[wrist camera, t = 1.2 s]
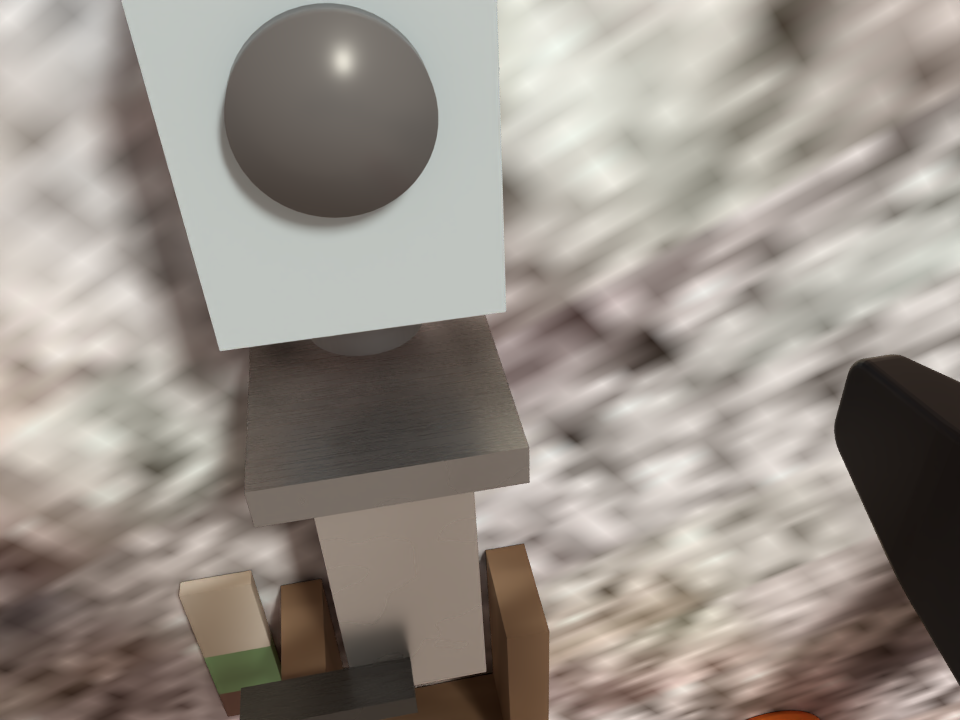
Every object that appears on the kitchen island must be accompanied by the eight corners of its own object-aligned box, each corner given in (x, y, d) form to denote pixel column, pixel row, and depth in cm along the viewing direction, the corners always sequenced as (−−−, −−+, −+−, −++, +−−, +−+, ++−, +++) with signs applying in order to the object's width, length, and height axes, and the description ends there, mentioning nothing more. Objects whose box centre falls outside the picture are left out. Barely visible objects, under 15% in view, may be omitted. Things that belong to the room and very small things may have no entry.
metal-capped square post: (484, 313, 21) (529, 447, 17) (497, 566, 27) (532, 707, 23) (171, 357, 20) (147, 508, 17) (254, 609, 26) (250, 762, 22)
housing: (523, 524, 26) (571, 686, 22) (526, 686, 32) (565, 842, 27) (180, 582, 25) (160, 765, 21) (243, 740, 31) (237, 912, 26)
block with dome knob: (439, -181, 15) (500, -130, 11) (464, 246, 20) (513, 394, 16) (142, -160, 15) (84, -97, 10) (246, 273, 20) (237, 435, 16)
